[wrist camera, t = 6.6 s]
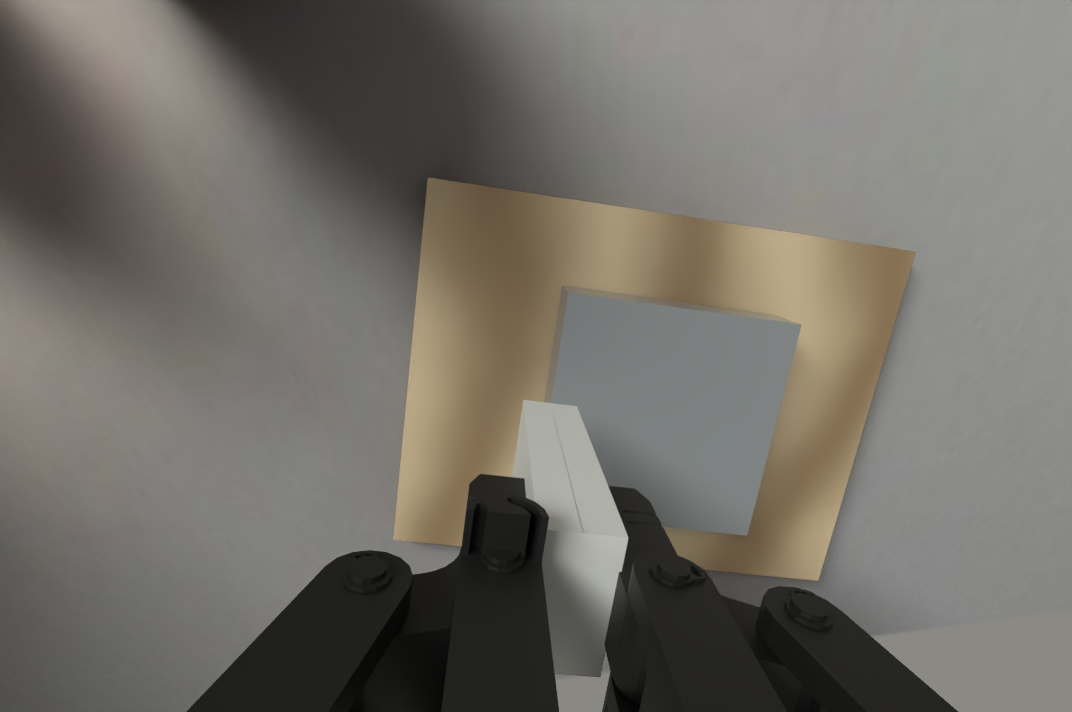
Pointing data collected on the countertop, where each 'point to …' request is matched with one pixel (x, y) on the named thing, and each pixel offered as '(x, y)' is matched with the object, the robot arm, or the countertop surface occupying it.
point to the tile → (674, 398)
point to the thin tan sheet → (650, 271)
